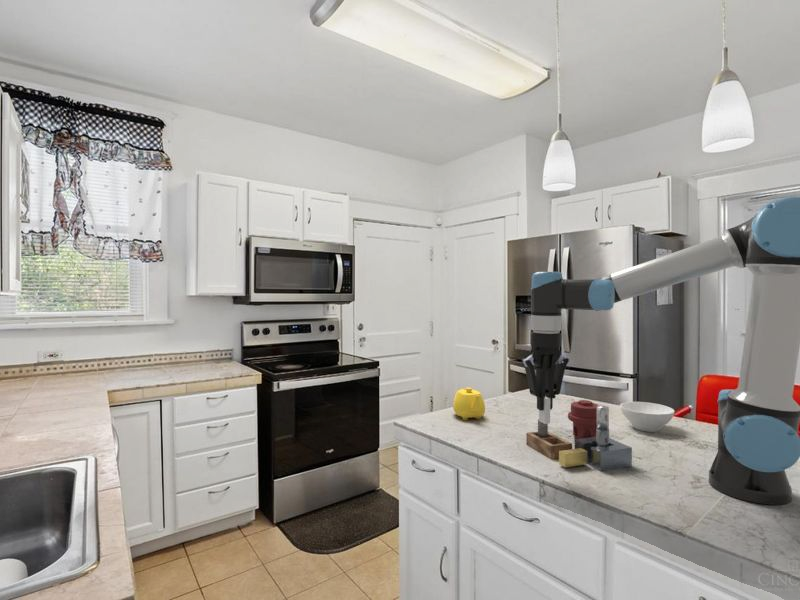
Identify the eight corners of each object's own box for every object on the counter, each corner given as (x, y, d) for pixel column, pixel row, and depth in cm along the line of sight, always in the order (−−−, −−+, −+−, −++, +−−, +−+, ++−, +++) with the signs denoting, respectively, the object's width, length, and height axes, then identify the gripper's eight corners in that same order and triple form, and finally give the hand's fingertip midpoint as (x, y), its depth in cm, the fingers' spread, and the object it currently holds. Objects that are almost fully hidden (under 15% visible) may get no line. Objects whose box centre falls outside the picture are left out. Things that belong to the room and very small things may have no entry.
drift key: (587, 464, 117) (587, 451, 117) (564, 467, 115) (564, 454, 115) (580, 460, 119) (581, 448, 119) (559, 464, 117) (559, 450, 117)
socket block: (631, 466, 116) (631, 447, 116) (600, 471, 113) (600, 451, 113) (603, 453, 126) (604, 435, 126) (574, 457, 123) (574, 439, 123)
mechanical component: (598, 436, 140) (606, 447, 130) (565, 434, 142) (570, 445, 132) (598, 398, 139) (606, 406, 130) (565, 396, 141) (571, 404, 132)
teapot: (494, 423, 155) (494, 393, 154) (464, 425, 152) (464, 394, 152) (474, 409, 172) (474, 382, 172) (447, 411, 170) (447, 384, 169)
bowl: (675, 439, 137) (675, 416, 137) (618, 431, 145) (618, 410, 145) (673, 425, 151) (673, 405, 151) (621, 418, 159) (621, 399, 159)
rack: (572, 455, 124) (572, 427, 124) (551, 458, 122) (551, 430, 122) (546, 441, 135) (546, 416, 135) (526, 444, 133) (526, 418, 133)
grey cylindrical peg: (611, 463, 119) (611, 407, 118) (601, 464, 118) (602, 408, 117) (602, 458, 122) (603, 404, 121) (593, 460, 121) (593, 405, 120)
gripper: (557, 329, 119) (556, 416, 120) (515, 330, 115) (514, 420, 116) (576, 332, 112) (575, 424, 113) (532, 333, 108) (530, 428, 109)
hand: (544, 422), depth 114 cm, fingers closed
